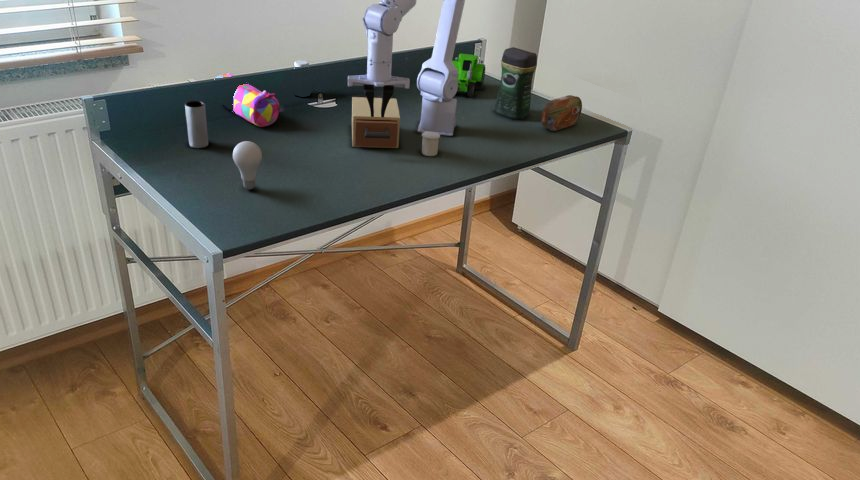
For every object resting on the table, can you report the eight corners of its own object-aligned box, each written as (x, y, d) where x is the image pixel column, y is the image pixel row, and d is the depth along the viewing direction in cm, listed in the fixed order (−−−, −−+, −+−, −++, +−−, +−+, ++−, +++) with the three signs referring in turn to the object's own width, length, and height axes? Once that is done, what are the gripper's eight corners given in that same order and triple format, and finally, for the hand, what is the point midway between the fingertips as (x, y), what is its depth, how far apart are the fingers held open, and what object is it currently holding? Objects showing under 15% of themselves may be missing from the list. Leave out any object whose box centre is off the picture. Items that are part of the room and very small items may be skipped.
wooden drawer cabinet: (398, 148, 185) (400, 117, 180) (352, 146, 183) (353, 116, 179) (394, 127, 196) (396, 98, 192) (351, 126, 195) (352, 96, 190)
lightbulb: (237, 182, 162) (233, 136, 156) (264, 183, 163) (262, 137, 157) (233, 195, 157) (229, 147, 151) (262, 195, 158) (259, 148, 152)
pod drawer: (397, 155, 179) (399, 131, 175) (355, 154, 178) (355, 129, 174) (393, 128, 193) (394, 105, 190) (354, 127, 192) (354, 104, 189)
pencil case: (286, 123, 193) (285, 90, 188) (257, 131, 187) (255, 97, 182) (238, 100, 205) (235, 68, 200) (209, 107, 199) (206, 74, 194)
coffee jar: (533, 116, 211) (543, 51, 201) (517, 122, 206) (527, 56, 196) (506, 106, 216) (515, 43, 206) (490, 112, 211) (498, 47, 201)
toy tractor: (442, 96, 220) (445, 63, 214) (450, 79, 233) (453, 48, 228) (478, 100, 219) (482, 67, 213) (483, 84, 232) (487, 52, 227)
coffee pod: (439, 150, 185) (440, 132, 183) (437, 157, 182) (439, 139, 179) (421, 148, 186) (422, 130, 183) (419, 155, 182) (420, 137, 179)
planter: (212, 143, 179) (208, 103, 173) (200, 149, 175) (196, 108, 170) (197, 139, 180) (193, 99, 175) (185, 145, 177) (180, 104, 171)
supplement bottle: (306, 90, 215) (306, 58, 210) (314, 96, 212) (314, 63, 206) (289, 93, 213) (288, 60, 207) (297, 99, 209) (297, 65, 204)
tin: (545, 134, 200) (550, 104, 196) (537, 130, 202) (542, 100, 197) (580, 123, 209) (585, 94, 204) (571, 120, 211) (576, 91, 206)
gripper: (348, 63, 165) (347, 120, 173) (412, 66, 167) (408, 122, 174) (348, 54, 171) (347, 109, 179) (409, 56, 173) (406, 111, 180)
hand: (377, 115), depth 177 cm, fingers closed
